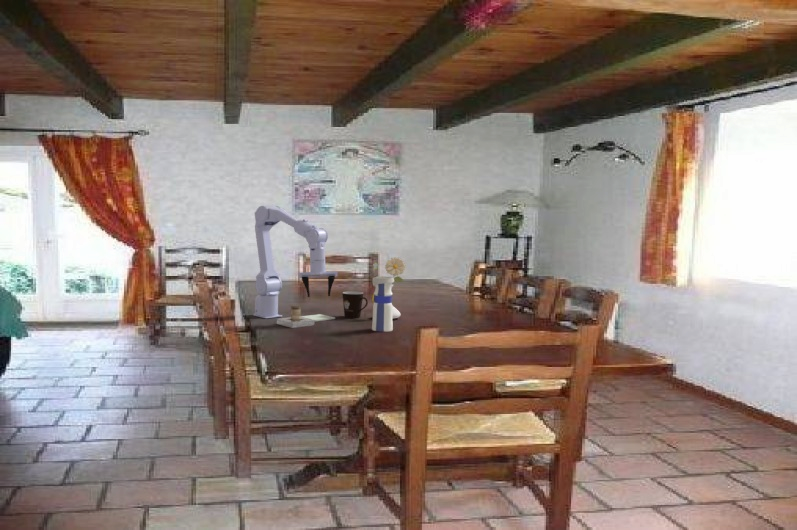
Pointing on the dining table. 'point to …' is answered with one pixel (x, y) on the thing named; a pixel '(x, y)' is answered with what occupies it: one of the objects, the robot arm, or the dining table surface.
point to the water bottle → (382, 303)
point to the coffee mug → (353, 304)
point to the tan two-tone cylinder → (295, 313)
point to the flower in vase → (395, 268)
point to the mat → (319, 317)
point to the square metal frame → (295, 322)
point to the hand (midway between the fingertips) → (318, 296)
